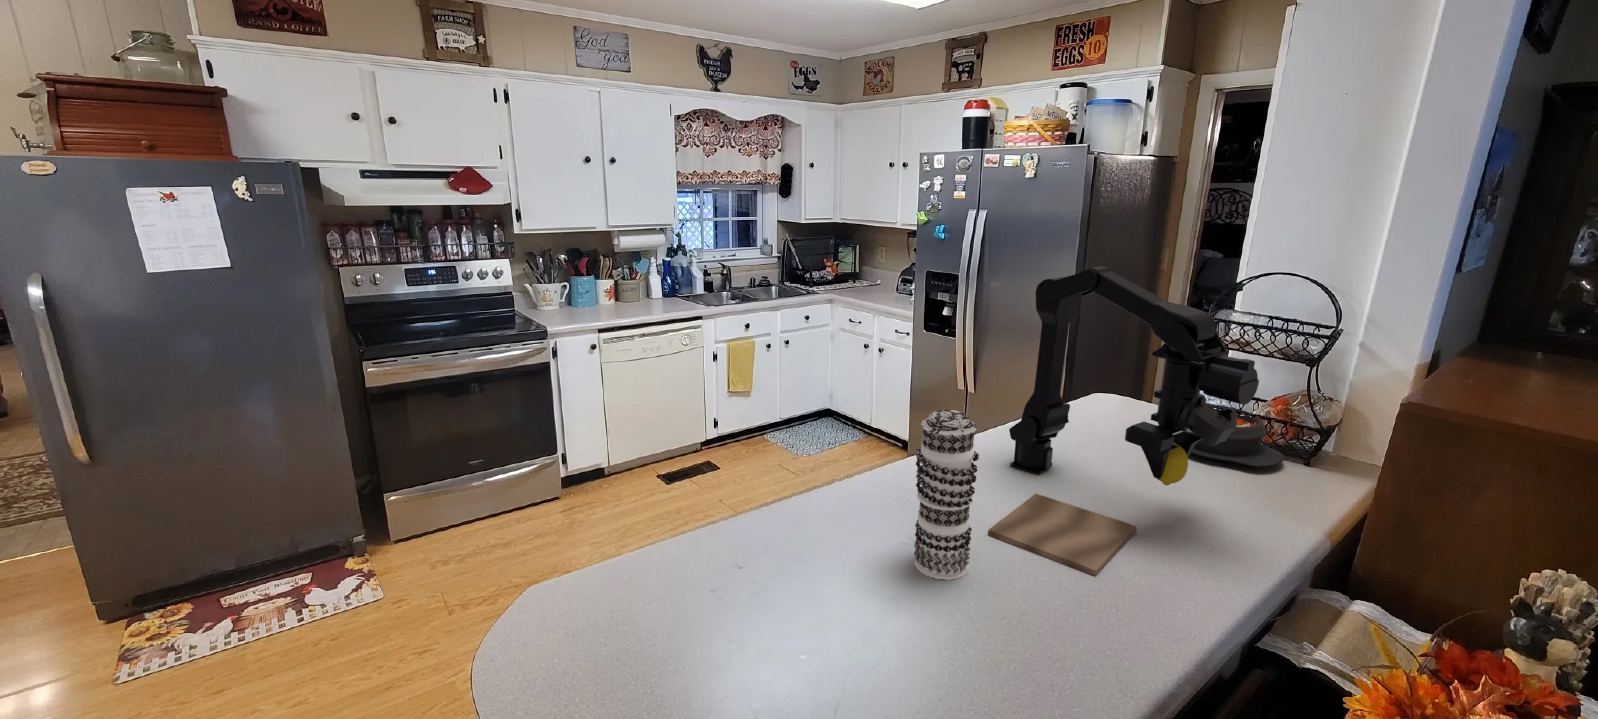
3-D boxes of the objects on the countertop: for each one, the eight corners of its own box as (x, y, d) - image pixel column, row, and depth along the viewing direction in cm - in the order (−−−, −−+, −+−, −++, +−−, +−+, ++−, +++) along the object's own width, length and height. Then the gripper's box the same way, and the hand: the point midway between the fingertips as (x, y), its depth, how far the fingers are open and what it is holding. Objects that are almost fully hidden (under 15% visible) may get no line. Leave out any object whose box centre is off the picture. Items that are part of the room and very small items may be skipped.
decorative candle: (933, 542, 114) (940, 400, 108) (982, 564, 108) (993, 414, 101) (899, 564, 108) (904, 415, 101) (949, 588, 102) (958, 431, 95)
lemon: (1175, 478, 120) (1182, 436, 118) (1189, 493, 115) (1197, 448, 113) (1142, 477, 121) (1148, 435, 119) (1155, 491, 116) (1161, 447, 113)
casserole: (1300, 461, 144) (1308, 424, 141) (1253, 483, 134) (1261, 443, 132) (1183, 425, 164) (1188, 391, 162) (1135, 441, 155) (1140, 406, 153)
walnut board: (987, 534, 117) (988, 529, 116) (1035, 498, 129) (1035, 493, 129) (1095, 576, 105) (1096, 570, 104) (1136, 531, 117) (1136, 525, 117)
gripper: (1197, 412, 102) (1182, 507, 106) (1262, 390, 111) (1245, 478, 116) (1128, 392, 111) (1117, 480, 115) (1193, 373, 120) (1180, 455, 125)
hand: (1167, 474), depth 118 cm, fingers closed on lemon, 5 cm apart
